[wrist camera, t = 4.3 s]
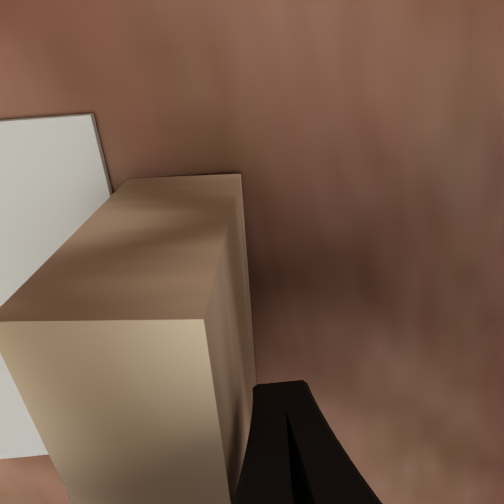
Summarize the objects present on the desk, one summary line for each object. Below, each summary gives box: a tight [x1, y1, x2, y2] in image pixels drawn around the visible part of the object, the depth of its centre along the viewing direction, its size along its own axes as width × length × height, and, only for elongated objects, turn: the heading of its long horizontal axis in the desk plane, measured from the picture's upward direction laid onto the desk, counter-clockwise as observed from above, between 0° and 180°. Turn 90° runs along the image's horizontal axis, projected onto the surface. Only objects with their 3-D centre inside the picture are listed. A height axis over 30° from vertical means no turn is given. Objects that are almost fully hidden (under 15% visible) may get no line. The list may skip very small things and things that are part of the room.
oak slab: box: [0, 174, 257, 504], centre depth 12 cm, size 4×10×7 cm, turn 3°
